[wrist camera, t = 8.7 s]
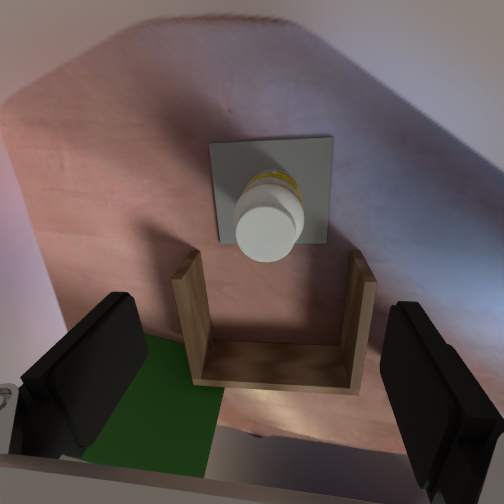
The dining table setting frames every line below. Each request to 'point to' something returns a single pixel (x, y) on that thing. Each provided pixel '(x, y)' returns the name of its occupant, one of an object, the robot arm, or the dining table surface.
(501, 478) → the robot arm
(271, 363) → the wooden u-shaped frame
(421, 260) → the dining table surface
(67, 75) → the dining table surface
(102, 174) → the dining table surface
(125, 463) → the hardback book
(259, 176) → the supplement bottle
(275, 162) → the grey mat
